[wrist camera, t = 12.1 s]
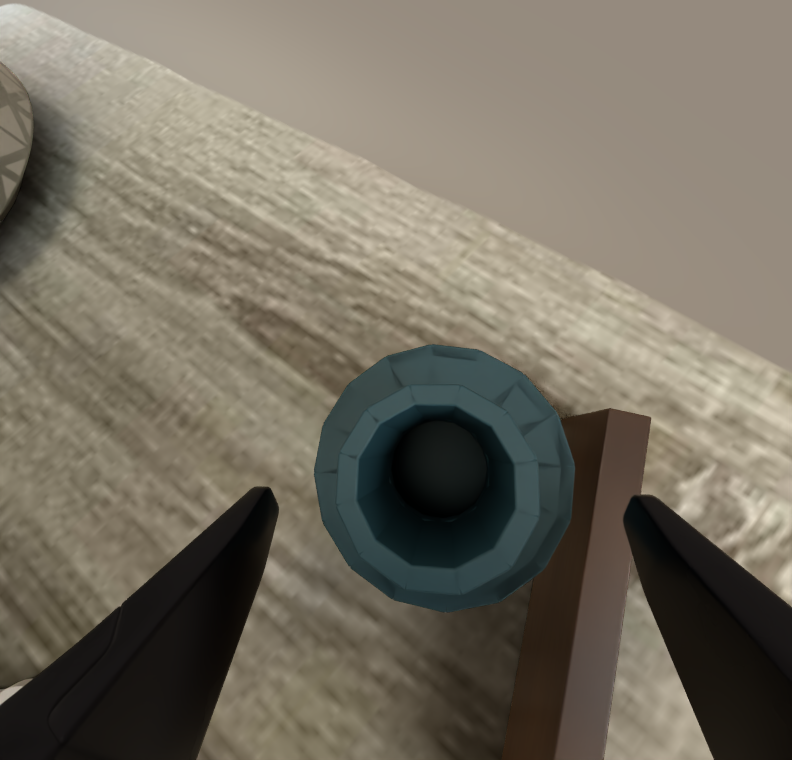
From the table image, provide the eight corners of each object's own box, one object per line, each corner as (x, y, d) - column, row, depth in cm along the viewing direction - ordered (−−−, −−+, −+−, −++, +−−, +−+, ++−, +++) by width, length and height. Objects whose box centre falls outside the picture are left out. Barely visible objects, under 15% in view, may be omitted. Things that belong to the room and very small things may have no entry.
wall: (522, 843, 15) (563, 1054, 10) (488, 828, 16) (511, 1026, 10) (591, 425, 18) (652, 416, 13) (561, 418, 18) (609, 407, 13)
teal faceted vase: (465, 549, 18) (520, 835, 5) (358, 476, 19) (173, 542, 6) (530, 436, 19) (735, 414, 5) (420, 373, 20) (373, 235, 7)
